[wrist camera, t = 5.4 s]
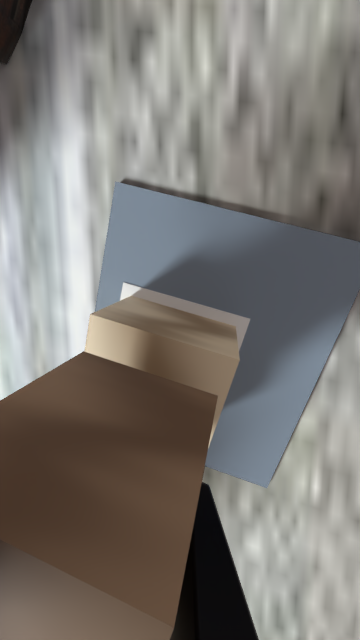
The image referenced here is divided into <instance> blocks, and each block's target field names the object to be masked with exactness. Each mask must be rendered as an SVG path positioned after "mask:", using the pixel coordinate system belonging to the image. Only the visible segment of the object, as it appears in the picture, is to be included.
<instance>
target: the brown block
mask: <svg viewBox="0 0 360 640" xmlns="http://www.w3.org/2000/svg"><path fill="white" fill-rule="evenodd" d="M217 399H218V396H217V395H214V394H211V393H208V392H205V391H202V390H199V389H196V388H193V387H190V386H187V385H184V384H181V383H178V382H175V381H172V380H169V379H166V378H163V377H160V376H157V375H154V374H151V373H148V372H145V371H142V370H139V369H136V368H133V367H130V366H127V365H124V364H121V363H118V362H114V361H111V360H108V359H105V358H102V357H99V356H96V355H93V354H90V353H87V352H82V353H80V354H79V355H77V356H75V357H74V358H72V359H70V360H68V361H67V362H65V363H63V364H62V365H60V366H58V367H57V368H55V369H53V370H52V371H50V372H48V373H46V374H45V375H43V376H41V377H40V378H38V379H36V380H35V381H33V382H31V383H30V384H28V385H26V386H24V387H23V388H21V389H19V390H18V391H16V392H14V393H13V394H11V395H9V396H8V397H6V398H4V399H2V400H1V401H0V640H170V638H171V635H172V632H173V629H174V625H175V620H176V615H177V609H178V604H179V599H180V593H181V588H182V583H183V578H184V572H185V567H186V562H187V557H188V551H189V546H190V541H191V536H192V530H193V525H194V520H195V515H196V509H197V504H198V499H199V494H200V488H201V483H202V478H203V473H204V467H205V462H206V457H207V451H208V446H209V441H210V436H211V430H212V425H213V420H214V415H215V409H216V404H217Z"/></svg>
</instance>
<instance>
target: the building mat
mask: <svg viewBox="0 0 360 640" xmlns="http://www.w3.org/2000/svg"><path fill="white" fill-rule="evenodd" d="M359 290H360V242H358V241H354V240H350V239H346V238H342V237H338V236H334V235H330V234H326V233H322V232H318V231H314V230H310V229H306V228H302V227H298V226H293V225H289V224H285V223H281V222H277V221H273V220H269V219H265V218H261V217H257V216H253V215H249V214H245V213H241V212H237V211H233V210H229V209H225V208H221V207H217V206H212V205H208V204H204V203H200V202H196V201H192V200H188V199H184V198H180V197H176V196H172V195H168V194H164V193H160V192H156V191H152V190H148V189H144V188H140V187H136V186H131V185H127V184H123V183H119V182H115V188H114V194H113V201H112V207H111V213H110V219H109V226H108V232H107V238H106V245H105V251H104V257H103V264H102V270H101V276H100V282H99V289H98V295H97V301H96V308H95V312H96V311H98V310H101V309H103V308H105V307H107V306H109V305H112V304H114V303H116V302H118V301H121V300H123V299H125V298H127V297H130V296H134V297H137V298H141V299H144V300H148V301H151V302H154V303H158V304H161V305H165V306H168V307H171V308H175V309H178V310H182V311H185V312H188V313H192V314H195V315H199V316H202V317H206V318H209V319H212V320H216V321H219V322H223V323H226V324H229V325H233V326H236V332H237V341H238V349H239V358H240V361H239V364H238V366H237V369H236V372H235V375H234V378H233V380H232V383H231V386H230V389H229V392H228V395H227V397H226V400H225V403H224V406H223V409H222V411H221V414H220V417H219V420H218V423H217V426H216V428H215V431H214V434H213V437H212V440H211V442H210V445H209V448H208V451H207V457H206V462H205V466H206V467H209V468H212V469H215V470H217V471H220V472H223V473H226V474H229V475H232V476H234V477H237V478H240V479H243V480H246V481H248V482H251V483H254V484H257V485H260V486H263V487H265V488H267V487H268V485H269V482H270V480H271V478H272V476H273V474H274V472H275V470H276V467H277V465H278V463H279V461H280V459H281V457H282V455H283V452H284V450H285V448H286V446H287V444H288V442H289V440H290V437H291V435H292V433H293V431H294V429H295V427H296V425H297V422H298V420H299V418H300V416H301V414H302V412H303V410H304V407H305V405H306V403H307V401H308V399H309V397H310V395H311V393H312V390H313V388H314V386H315V384H316V382H317V380H318V378H319V375H320V373H321V371H322V369H323V367H324V365H325V363H326V360H327V358H328V356H329V354H330V352H331V350H332V348H333V345H334V343H335V341H336V339H337V337H338V335H339V333H340V330H341V328H342V326H343V324H344V322H345V320H346V318H347V316H348V313H349V311H350V309H351V307H352V305H353V303H354V301H355V298H356V296H357V294H358V292H359Z"/></svg>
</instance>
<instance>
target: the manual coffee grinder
mask: <svg viewBox="0 0 360 640" xmlns="http://www.w3.org/2000/svg"><path fill="white" fill-rule="evenodd" d="M31 2H32V0H0V62H1V63H4V64H7V62H8V60H9V58H10V56H11V54H12V52H13V50H14V48H15V46H16V44H17V42H18V40H19V37H20V35H21V33H22V30H23V27H24V24H25V21H26V18H27V14H28V11H29V8H30V5H31Z"/></svg>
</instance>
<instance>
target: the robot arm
mask: <svg viewBox="0 0 360 640" xmlns="http://www.w3.org/2000/svg"><path fill="white" fill-rule="evenodd" d="M170 640H259V639H258V636H257V633H256V630H255V627H254V623H253V620H252V617H251V614H250V611H249V608H248V605H247V602H246V599H245V595H244V592H243V589H242V586H241V583H240V580H239V577H238V574H237V571H236V567H235V564H234V561H233V558H232V555H231V552H230V549H229V546H228V543H227V539H226V536H225V533H224V530H223V527H222V524H221V521H220V518H219V515H218V511H217V508H216V505H215V502H214V499H213V496H212V493H211V490H210V487H209V485H208V484H206V483H203V482H202V483H201V488H200V494H199V499H198V504H197V509H196V515H195V520H194V525H193V530H192V536H191V541H190V546H189V551H188V557H187V562H186V567H185V572H184V578H183V583H182V588H181V593H180V599H179V604H178V609H177V615H176V620H175V625H174V629H173V632H172V635H171V638H170Z"/></svg>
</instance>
